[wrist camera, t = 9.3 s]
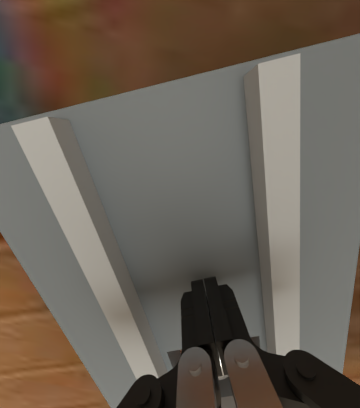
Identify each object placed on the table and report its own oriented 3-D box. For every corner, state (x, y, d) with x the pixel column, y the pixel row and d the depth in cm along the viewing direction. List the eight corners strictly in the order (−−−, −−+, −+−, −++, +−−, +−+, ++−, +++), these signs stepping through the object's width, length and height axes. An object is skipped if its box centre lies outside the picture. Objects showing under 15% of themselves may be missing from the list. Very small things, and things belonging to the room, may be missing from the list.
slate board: (-1, 138, 11) (-173, 139, 6) (330, 56, 10) (516, -41, 5) (132, 390, 20) (116, 486, 15) (315, 360, 19) (372, 451, 14)
